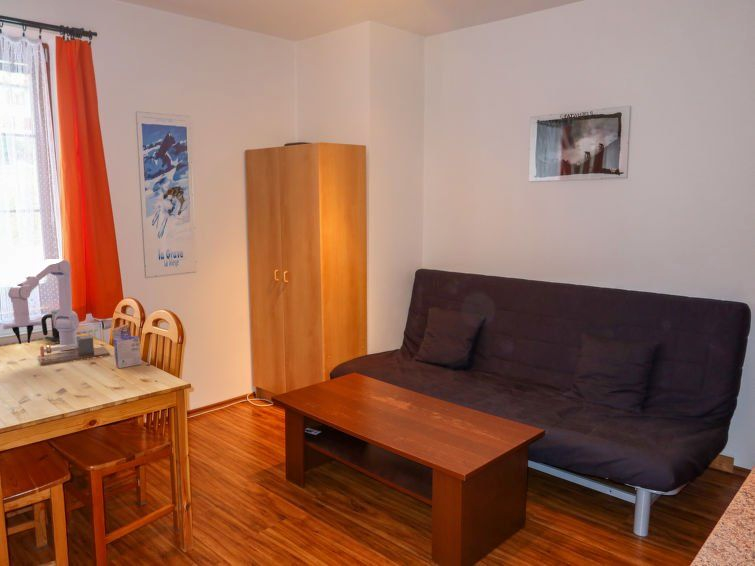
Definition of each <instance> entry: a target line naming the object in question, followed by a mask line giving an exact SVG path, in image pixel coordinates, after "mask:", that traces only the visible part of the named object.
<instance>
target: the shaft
mask: <svg viewBox="0 0 755 566" xmlns="http://www.w3.org/2000/svg"><path fill="white" fill-rule="evenodd" d="M38 346H39V353H40V355H39V356H41V357H44V355H45V353H46V355H48V354H52V353H53V352H61V350H63V351H69V350H68V349H70V350H76V349H75V348H79V347H78V343H77V344H70V345H62V346H60V345H55V346H51V345H46V346H45V347H44V344H43V343H41V344H40V343H39V345H38Z"/></svg>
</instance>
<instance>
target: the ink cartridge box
mask: <svg viewBox="0 0 755 566" xmlns="http://www.w3.org/2000/svg"><path fill="white" fill-rule="evenodd" d="M123 334H128V335H126V336H123ZM130 334H131V332H130V333H129V332H124V333H121V338H119V339H113V338H112V341H113V340H114V342H113V348H114V349H113V351H114V350H115V352H114V361H115V360H116V362H115V366H116V368H117V369H122V368H128V367H133V366H134V367H135V366H138V365H141V364H142V356H141V355H142V354H141V345H140V344H141V343H140V342H141V341H140V337H139V336H137V335H132V336H130Z"/></svg>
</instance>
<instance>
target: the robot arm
mask: <svg viewBox="0 0 755 566" xmlns="http://www.w3.org/2000/svg"><path fill="white" fill-rule="evenodd" d="M49 274H51V275H53V276H54V277H55V278H57V281H58V282H57V283H58V285H57V286H58V303H59V304H58V306H59V309H58V310H59V312H58V313H57V314H56V315H55V321H54V326H55V328H56V329H57V330H58V331H59V336H60V342H59V344H60V345H59V346H62V345H70V344H77V339H76V337H77V330H78V327H80V321H79V320H80V319H79V317H78V314H77V312H75V311H73V304H72V303H73V301H72V276H71V275H72V272H71V263H70V261H68V260H67V259H63V258H62V259H50V258H48V259H45V260H44V261H43V262H42V265H41V267H39V268H38V269H37V270H36V272H34V273H33V274H32V275H30V274H29V275H26V276H25V277H24V279H22V280H21V281H20V282H18V284H16V285H12V286H11V287H10V288H9V290H8V293H7V295H8V298H9V299H10V302H11V303H12V308H13V309H12V310H13V319H14V322H11V323H5V324H2V329H3V330H9V329H12V332H13V333H14V335H15V336H16V339H17V341H18V345H22V341H21V335H20V334H21V333H20V328H25V327H26V333H27V338H26V339H27V344H30V342H31V337H32V333H33V331H34V327H35V326H36V327H37V326H42V322H41V320H40V319H39V320H31V319H30V311H29V301H28V298H30V295H31V293H32V291H33V290H34V289H36V288H37V287H38V286H39V285H40V281H41V280H42V279H44V278H45V277H46V276H47V275H49ZM70 350H71V349H68V350H67V351H70ZM74 350H77V348H75V349H74ZM61 351H62V352H63V351H64V350H60V352H61Z"/></svg>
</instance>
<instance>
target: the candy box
mask: <svg viewBox="0 0 755 566" xmlns="http://www.w3.org/2000/svg"><path fill="white" fill-rule="evenodd" d="M130 326H131V325H130V324H122V325H119V326H118V327H115V328H112V329H111V330H112V342H113V343H114V340H113V339H119V338H121V333H124V332H129V333H130V336H131V327H130ZM126 335H128V334H123V336H126ZM113 351H114V352H113V353H115V350H114V349H113ZM114 361H115V363H116V360H115V359H114Z"/></svg>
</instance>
